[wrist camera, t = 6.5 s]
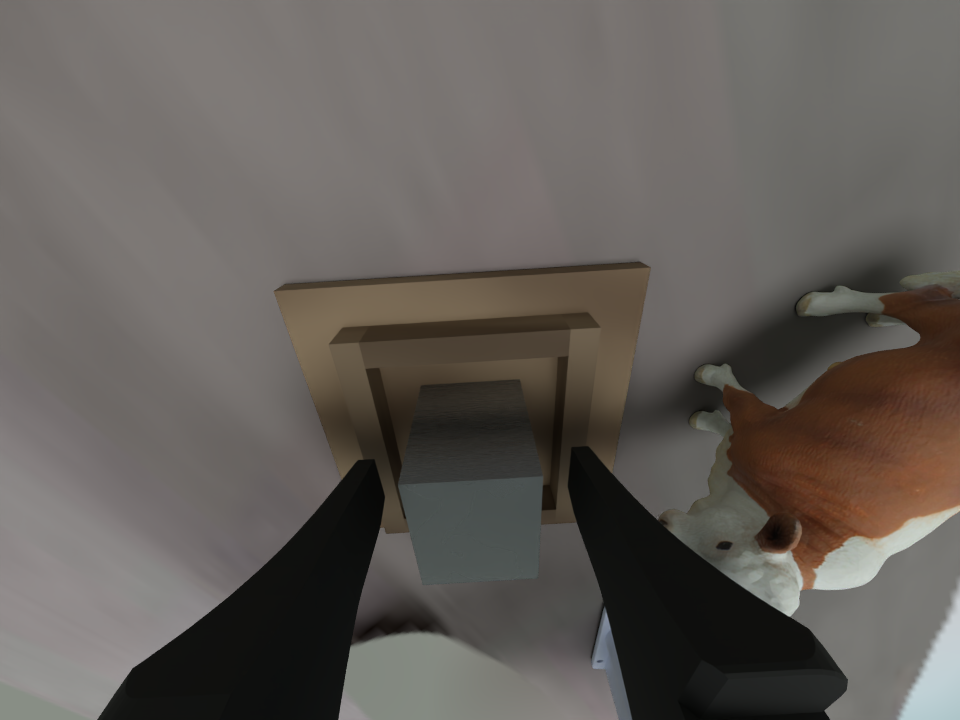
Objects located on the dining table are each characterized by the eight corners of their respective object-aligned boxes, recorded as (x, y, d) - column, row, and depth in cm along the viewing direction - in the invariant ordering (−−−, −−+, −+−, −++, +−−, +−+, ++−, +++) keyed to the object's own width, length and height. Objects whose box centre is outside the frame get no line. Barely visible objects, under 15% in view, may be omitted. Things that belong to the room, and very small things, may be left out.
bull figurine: (586, 412, 16) (684, 612, 9) (921, 218, 12) (1602, 288, 5) (628, 464, 17) (738, 668, 10) (932, 311, 14) (1443, 463, 6)
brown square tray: (599, 501, 19) (614, 539, 17) (363, 515, 19) (351, 554, 17) (640, 262, 12) (671, 278, 10) (284, 284, 12) (250, 304, 10)
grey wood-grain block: (519, 468, 16) (538, 578, 12) (435, 472, 16) (422, 584, 12) (519, 379, 14) (543, 476, 9) (420, 384, 14) (397, 485, 9)
